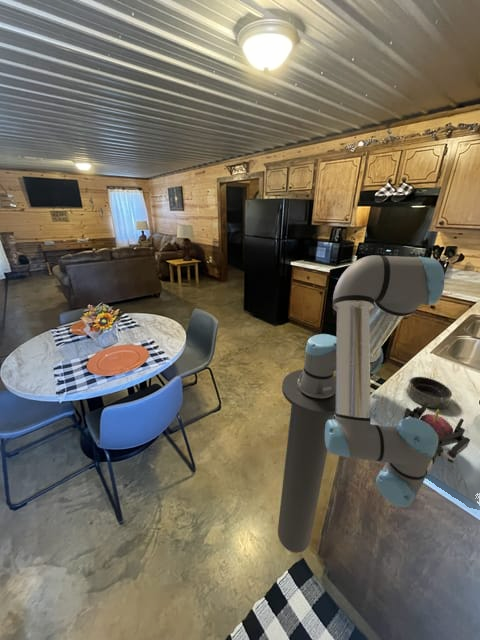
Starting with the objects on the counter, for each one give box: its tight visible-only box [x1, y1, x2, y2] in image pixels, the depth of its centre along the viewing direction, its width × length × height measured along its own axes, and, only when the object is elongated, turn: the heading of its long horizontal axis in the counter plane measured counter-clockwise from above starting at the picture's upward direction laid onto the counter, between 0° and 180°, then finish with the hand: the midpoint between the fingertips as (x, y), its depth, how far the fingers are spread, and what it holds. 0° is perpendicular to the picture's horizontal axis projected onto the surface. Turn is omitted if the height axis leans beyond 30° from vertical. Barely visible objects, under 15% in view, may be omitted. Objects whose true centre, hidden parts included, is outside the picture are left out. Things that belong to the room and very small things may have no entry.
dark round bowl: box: [406, 376, 453, 410], centre depth 101 cm, size 13×13×5 cm
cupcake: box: [419, 408, 454, 436], centre depth 78 cm, size 9×8×12 cm
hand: (442, 413), depth 81 cm, fingers closed on cupcake, 8 cm apart
